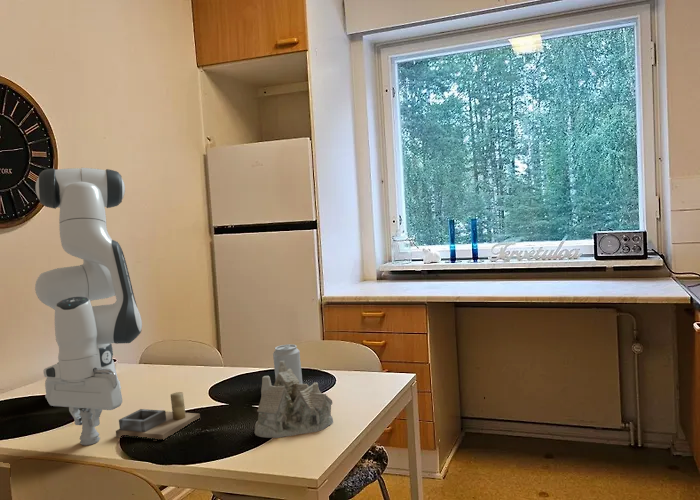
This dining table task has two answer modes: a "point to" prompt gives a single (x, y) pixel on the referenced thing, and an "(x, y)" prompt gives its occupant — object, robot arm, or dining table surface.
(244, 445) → the dining table surface
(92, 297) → the robot arm
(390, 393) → the dining table surface
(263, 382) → the ceramic cottage
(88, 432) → the rook chess piece
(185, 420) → the carrier plate
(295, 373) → the can
